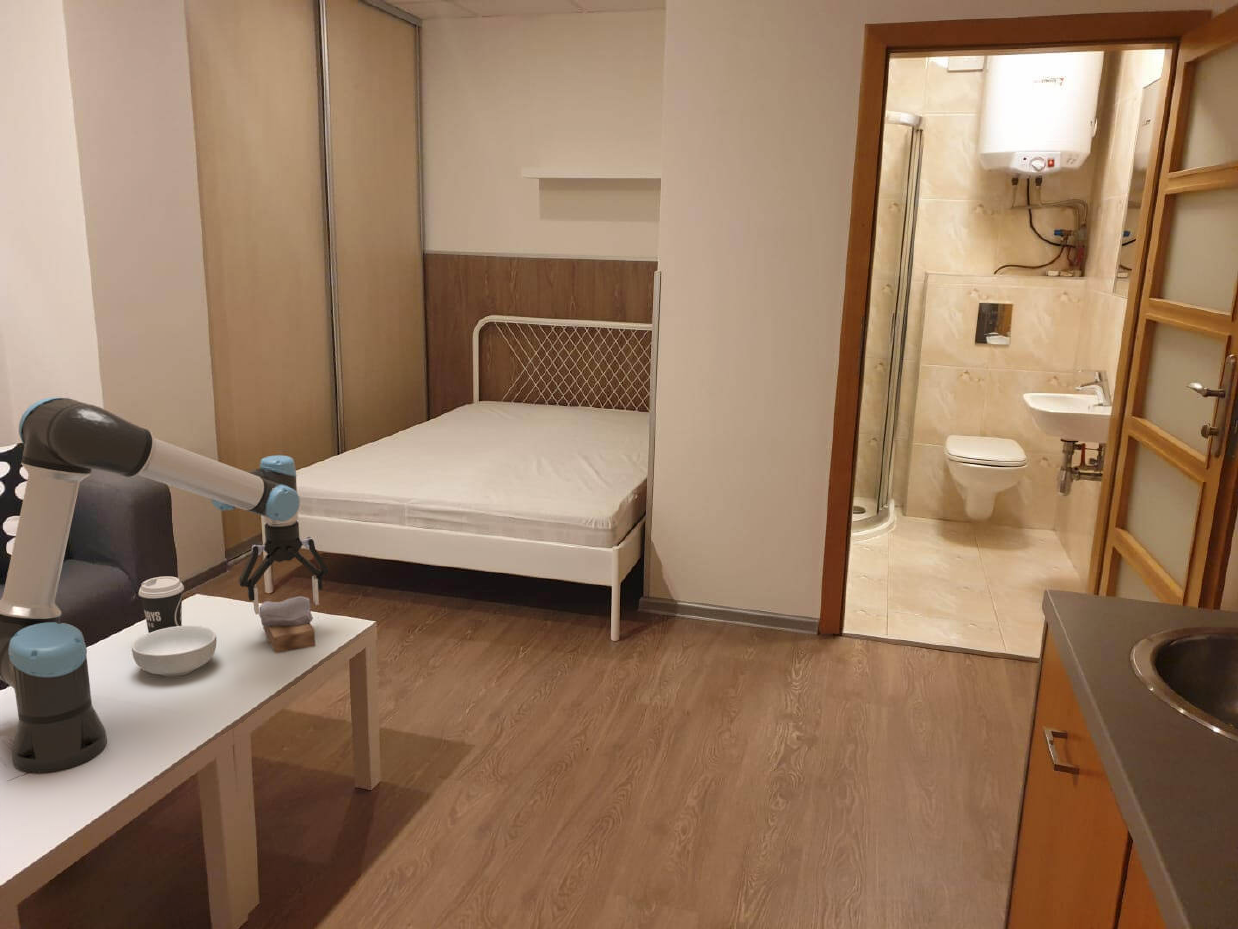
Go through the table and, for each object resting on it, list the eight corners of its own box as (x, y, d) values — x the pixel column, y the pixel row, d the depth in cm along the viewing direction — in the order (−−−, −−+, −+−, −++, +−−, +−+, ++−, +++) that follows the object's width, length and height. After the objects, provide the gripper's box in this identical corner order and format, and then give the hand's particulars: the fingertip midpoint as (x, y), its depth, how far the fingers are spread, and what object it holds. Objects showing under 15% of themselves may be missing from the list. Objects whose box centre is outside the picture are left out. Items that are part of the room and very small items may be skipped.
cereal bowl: (233, 656, 218) (230, 627, 216) (191, 689, 202) (188, 658, 200) (164, 650, 220) (161, 621, 219) (117, 682, 204) (114, 651, 203)
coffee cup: (156, 633, 229) (151, 574, 226) (195, 635, 229) (190, 575, 225) (135, 650, 220) (129, 588, 216) (176, 651, 219) (170, 590, 216)
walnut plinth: (274, 653, 220) (273, 636, 219) (263, 628, 234) (262, 612, 233) (315, 645, 224) (314, 630, 223) (301, 621, 238) (300, 606, 237)
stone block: (315, 630, 227) (310, 607, 236) (313, 613, 225) (309, 591, 234) (262, 638, 223) (259, 615, 231) (260, 621, 221) (257, 598, 229)
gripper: (226, 533, 213) (233, 622, 218) (339, 519, 225) (343, 604, 230) (221, 524, 220) (228, 610, 224) (332, 511, 231) (336, 594, 236)
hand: (286, 607), depth 227 cm, fingers open, 13 cm apart
